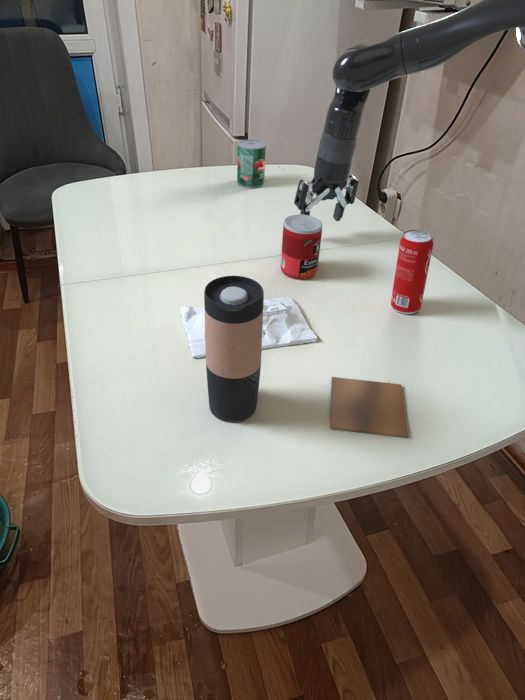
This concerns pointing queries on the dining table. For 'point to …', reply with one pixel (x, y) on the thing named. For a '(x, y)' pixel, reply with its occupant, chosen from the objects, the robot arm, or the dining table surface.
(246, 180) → the canned tomato
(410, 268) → the beverage can
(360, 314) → the dining table surface
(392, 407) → the cork mat
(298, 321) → the terrain model
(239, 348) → the travel mug
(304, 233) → the canned food
